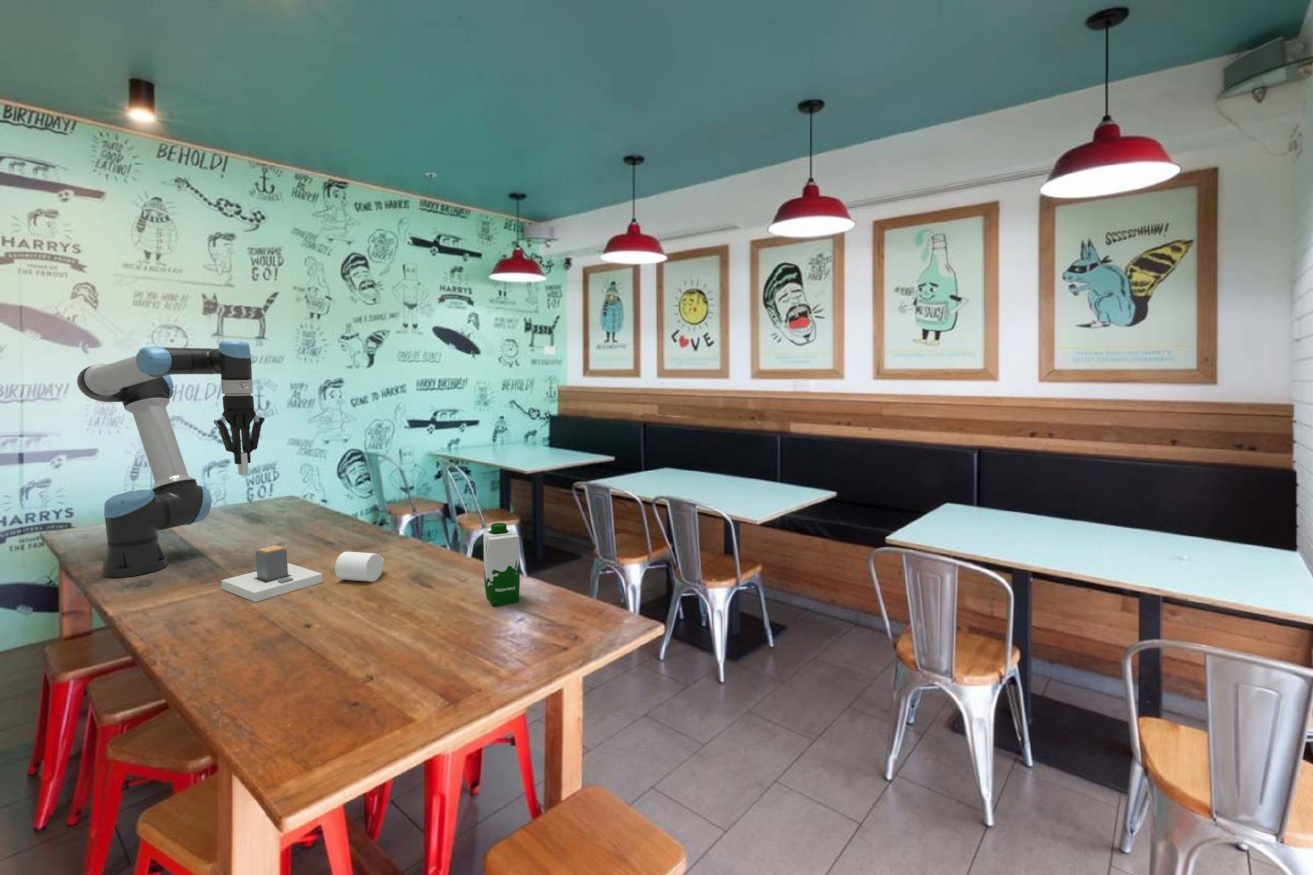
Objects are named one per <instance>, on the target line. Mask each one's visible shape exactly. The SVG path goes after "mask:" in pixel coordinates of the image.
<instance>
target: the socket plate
mask: <svg viewBox="0 0 1313 875" xmlns="http://www.w3.org/2000/svg"><path fill="white" fill-rule="evenodd" d="M287 566H288V577H286V578H282V579H278V580H275V581H271V582H267V583H265V582H262V581H259V580H257V570H256V571H253V572H250V573H245V574H241V575H237V576H233V577H229V578H225V579H221V589H222V590H223V591H225V592H229V593H231V594H234V595H236V596H239V597H241V598H244V599H246V600H249V601H251V602H254V603H257V602H259V601H263V600H268V599H271V598H275V597H277V596H281V595H284V594H287V593H291V592H294V591H295V592H296V591H297V590H301V589H304V588H308V587H311V586H315V585H318V584H322V583H323V573H321V572H318V571H315V570H312V569H309V568H305V567H302V566H298V565H295V564H291V563H289V562H287Z"/></svg>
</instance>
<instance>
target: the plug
mask: <svg viewBox="0 0 1313 875" xmlns="http://www.w3.org/2000/svg"><path fill="white" fill-rule="evenodd" d="M287 551H288V550H287V548H284V547H283V546H279V545H275V544H274V545H269V546H265V547H262V548H257V550H255V562H256V563H255V564H256V571H257V580H259V581H262V582H265V583H267V582H271V581H275V580H278V579H282V578H286V577H288V566H287V563H288V552H287Z"/></svg>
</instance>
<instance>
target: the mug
mask: <svg viewBox="0 0 1313 875" xmlns="http://www.w3.org/2000/svg"><path fill="white" fill-rule="evenodd" d="M384 562H385V560H384V558H383V557H382V556H381V555H380V554H378V553H373V552H359V551H344V552H342V553H341V554H340V555H338V557H337V558H336V561H335V565H334V571H335V575H336V577H337V578H338V579H340V580H346V581H354V582H355V581H359V582H371V583H373V582H375V581H378V579H379V578H380V577H381V575H382V572H383V569H384Z"/></svg>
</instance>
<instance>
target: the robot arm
mask: <svg viewBox="0 0 1313 875" xmlns="http://www.w3.org/2000/svg"><path fill="white" fill-rule="evenodd" d="M171 375H220V380H221V381H220V382H221V393H222V394H223V396H222V408H223V412H222V414H221V417H219V418H218V419H214V420H213V424H214V425H215V426H216V427H217V429H218V432H219V434H220V437H221V439H222V442H223V446H224V449H225V451H226V452H229V453H233V460H234V464H235V465H237V469H238V470H237V471H238V476H249V464H250V463H251V462H252V459H251V458H252V457H251V453H252V452H253V451H255V450H257V449H258V446H259V445H258V444H259V440H260V434H261V429H262V425H263V424H264V422H265V420H266V419H265V418H264V417H262V416H259V415H258V414H257V412H256V411H255V408H254V407H255V403H254V402H255V400H254V396H253V395H252V394H253V393H254V387H253V371H252V354H251V349H250V344H249V343H248V342H247V341H238V340H237V341H234V340H231V341H229V340H227V341H226V340H224V341H223V340H222V341H220V342H219V343H218V348H210V347H209V348H207V347H204V348H203V347H201V348H200V347H170V346H169V347H168V346H166V347H165V346H148V347H147V346H145V347H142V348H140V349H139V350H138V352H137V353H136V355H134V356H129V357H128V358H124V359H121V360H117V361H114V362H111V363H108V364H107V363H97V364H96V363H95V364H94V365H93V364H92V365H90V366H87V367H85V368H83V369H82V370H81V371H80V372H79V374H78V376H77V380H76V384H77V387H78V389H79V390H80V392H81V393H82V394H83V395H84V396H86V397H88V398H90V399H92V400H95V401H98V402H102V403H103V402H104V403H122V405H123V407H124V410H125V411H127V412H128V413H131V414H132V415H133V418H134V422H135V424H136V429H137V431H138V435H139V437H140V440H141V443H142V446H143V449H144V450H143V451H144V452H145V456H146V458H147V461H148V465H149V467H150V471H151V474H152V476H153V480H154V485H153V486H152V487H151V489H139V490H131V491H126V492H121V493H119V494H116V495H113V496H111V497H109V498H108V499H107V500H106V501H105V502H104V510H103V511H104V513H103V517H104V521H105V531H106V532H105V533H106V540H107V542H106V543H107V550H106V553H105V554H106V555H105V557H104V560H103V564H102V567H101V572H102V576H103V577H106V578H127V577H129V578H130V577H135V576H142V575H146V574H151V573H154V572H157V571H160V570H163V569H164V568H166V567H167V566H168V557H167V555H166V553H165V552H164V549H163V548H162V546H161V544H160V542H159V535H158V531H163V530H169V529H172V528H178V527H182V526H186V525H187V526H191V525H192V524H195V523H199V522H202V521H203V520H205V519H206V518H207V517H208V516H209V514H210V511H211V508H212V496H211V493H210V490H208V489H207V488H206V486H203V485H201V484H200V485H198V482H197V480H196V478H194V477H192V476H190V475H189V474H188V470H187V468H186V465H185V461H184V458H183V456H182V455H183V454H182V452H181V450H180V446H179V444H178V439H177V437H176V435H175V432H174V428H173V424H172V422H171V419H170V416H169V413H168V409H167V406H168V405H169V404H170V403H171V401H170V399H171V398H172V397H173V395H174V391H175V390H174V388H175V387H174V385H175V384H174V381H173V379H172V377H171ZM252 422H253V423H252ZM251 423H252V428H251ZM227 424H228V425H229V426H230V427H229V429H230V431H231V435H230V433H229V430H228V428H227ZM250 429H251V431H250ZM250 432H251V434H250Z"/></svg>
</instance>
